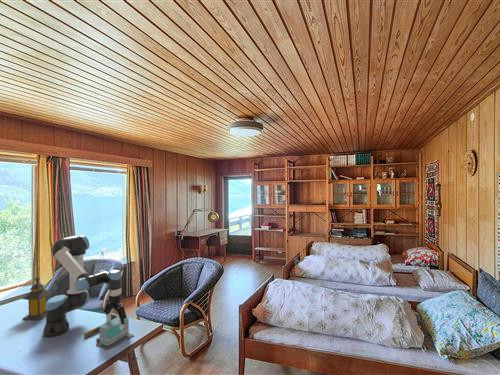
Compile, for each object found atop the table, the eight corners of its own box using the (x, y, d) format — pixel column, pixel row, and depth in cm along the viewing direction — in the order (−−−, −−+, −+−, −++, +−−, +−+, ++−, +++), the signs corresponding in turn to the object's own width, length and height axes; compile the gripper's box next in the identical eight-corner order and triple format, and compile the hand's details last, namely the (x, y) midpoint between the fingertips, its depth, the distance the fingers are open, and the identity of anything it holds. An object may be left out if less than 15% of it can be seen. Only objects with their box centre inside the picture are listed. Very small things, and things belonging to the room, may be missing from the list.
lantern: (40, 320, 209) (39, 280, 208) (21, 320, 210) (20, 280, 209) (53, 311, 223) (52, 274, 223) (36, 311, 224) (35, 274, 223)
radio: (108, 348, 174) (108, 316, 173) (99, 344, 178) (99, 313, 177) (130, 335, 188) (129, 306, 187) (120, 332, 192) (120, 303, 191)
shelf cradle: (84, 337, 187) (83, 316, 186) (109, 325, 202) (108, 306, 202) (97, 343, 179) (97, 322, 179) (122, 330, 195) (122, 311, 195)
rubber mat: (96, 345, 178) (96, 344, 178) (122, 331, 194) (122, 330, 194) (107, 351, 172) (107, 350, 172) (133, 335, 189) (133, 335, 189)
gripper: (97, 292, 185) (98, 323, 186) (122, 300, 173) (122, 334, 174) (108, 288, 192) (108, 318, 193) (132, 296, 180) (132, 328, 180)
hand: (115, 326), depth 183 cm, fingers open, 13 cm apart
